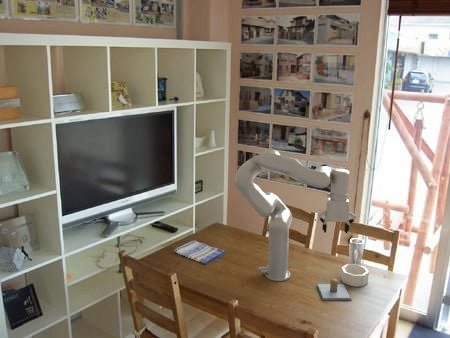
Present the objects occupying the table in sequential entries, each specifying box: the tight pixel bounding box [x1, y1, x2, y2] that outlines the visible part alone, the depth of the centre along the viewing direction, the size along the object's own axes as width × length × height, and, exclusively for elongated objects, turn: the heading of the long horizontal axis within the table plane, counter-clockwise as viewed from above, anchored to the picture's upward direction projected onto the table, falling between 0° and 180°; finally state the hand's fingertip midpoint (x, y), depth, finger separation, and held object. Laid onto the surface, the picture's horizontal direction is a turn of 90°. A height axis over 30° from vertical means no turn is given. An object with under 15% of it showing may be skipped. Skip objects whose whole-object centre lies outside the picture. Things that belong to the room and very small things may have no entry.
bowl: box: [340, 263, 370, 288], centre depth 222 cm, size 12×12×6 cm
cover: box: [317, 278, 351, 299], centre depth 211 cm, size 12×12×6 cm
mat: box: [316, 284, 353, 302], centre depth 212 cm, size 13×13×1 cm
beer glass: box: [348, 237, 365, 266], centre depth 233 cm, size 7×7×15 cm
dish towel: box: [173, 239, 226, 265], centre depth 251 cm, size 17×24×3 cm
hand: (335, 231), depth 213 cm, fingers open, 9 cm apart
